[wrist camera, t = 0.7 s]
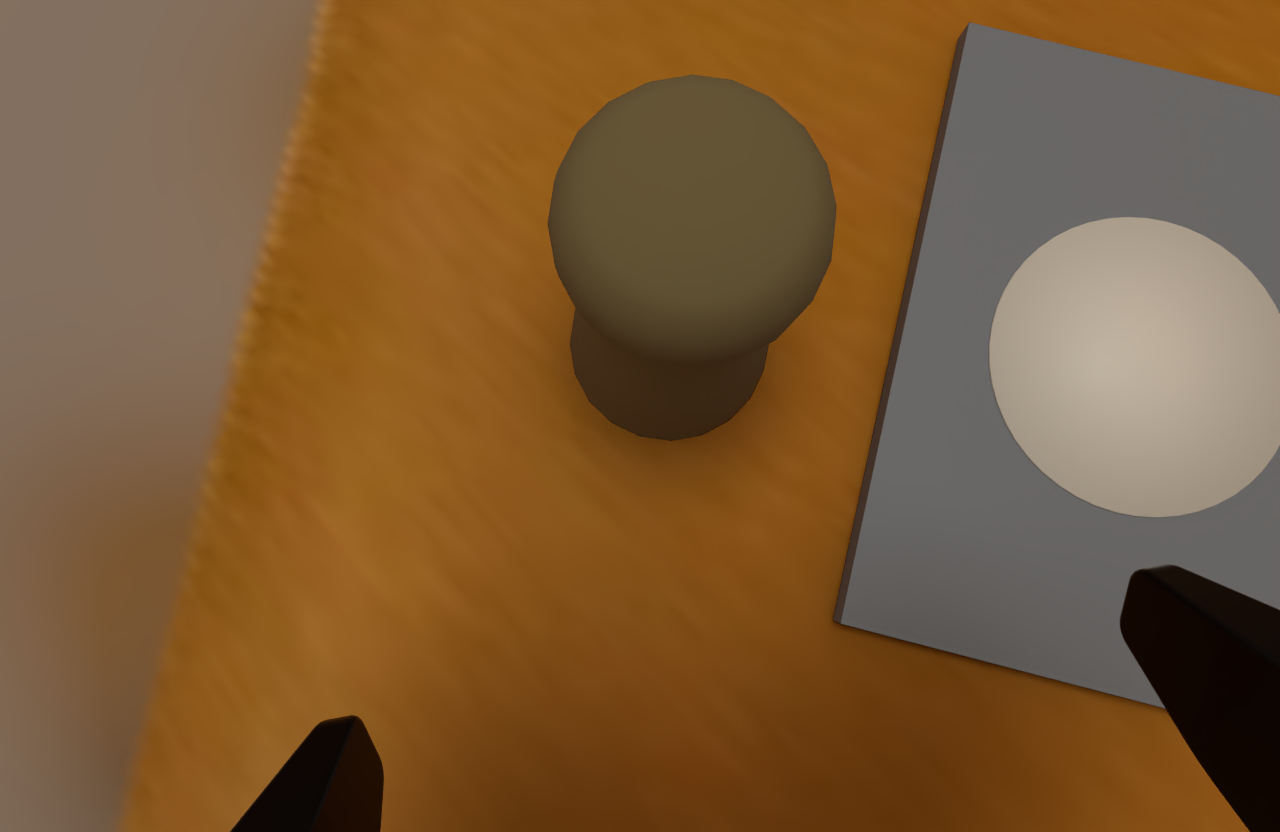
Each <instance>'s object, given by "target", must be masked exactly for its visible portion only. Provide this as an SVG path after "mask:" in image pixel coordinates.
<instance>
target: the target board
mask: <svg viewBox="0 0 1280 832" xmlns="http://www.w3.org/2000/svg"><path fill="white" fill-rule="evenodd" d="M1164 564H1172V565H1176V566H1179V567H1182V568H1184V569H1186V570H1189V571H1191V572H1193V573H1196V574H1198V575H1200V576H1203V577H1205V578H1207V579H1210V580H1212V581H1214V582H1217V583H1219V584H1221V585H1224V586H1226V587H1228V588H1230V589H1233V590H1235V591H1237V592H1240V593H1242V594H1244V595H1247V596H1249V597H1251V598H1254V599H1256V600H1258V601H1261V602H1263V603H1265V604H1268V605H1270V606H1272V607H1274V608H1277V609H1279V610H1280V96H1277V95H1273V94H1268V93H1264V92H1260V91H1256V90H1252V89H1247V88H1243V87H1239V86H1235V85H1230V84H1226V83H1222V82H1218V81H1214V80H1209V79H1205V78H1201V77H1197V76H1193V75H1188V74H1184V73H1180V72H1176V71H1172V70H1167V69H1163V68H1159V67H1155V66H1151V65H1146V64H1142V63H1138V62H1134V61H1130V60H1125V59H1121V58H1117V57H1113V56H1109V55H1104V54H1100V53H1096V52H1092V51H1087V50H1083V49H1079V48H1075V47H1071V46H1066V45H1062V44H1058V43H1054V42H1050V41H1045V40H1041V39H1037V38H1033V37H1029V36H1024V35H1020V34H1016V33H1012V32H1008V31H1003V30H999V29H995V28H991V27H987V26H982V25H978V24H974V23H970V22H969V24H968V25H967V27H966V28H965V29H964V31H963V32H962V34H961V35H960V37H959V38H958V43H957V47H956V52H955V57H954V61H953V66H952V70H951V75H950V80H949V84H948V89H947V94H946V98H945V103H944V108H943V112H942V117H941V122H940V126H939V131H938V135H937V140H936V145H935V149H934V154H933V159H932V163H931V168H930V173H929V177H928V182H927V186H926V191H925V196H924V200H923V205H922V210H921V214H920V219H919V224H918V228H917V233H916V238H915V242H914V247H913V251H912V256H911V261H910V265H909V270H908V275H907V279H906V284H905V289H904V293H903V298H902V302H901V307H900V312H899V316H898V321H897V326H896V330H895V335H894V340H893V344H892V349H891V354H890V358H889V363H888V367H887V372H886V377H885V381H884V386H883V391H882V395H881V400H880V405H879V409H878V414H877V418H876V423H875V428H874V432H873V437H872V442H871V446H870V451H869V456H868V460H867V465H866V470H865V474H864V479H863V483H862V488H861V493H860V497H859V502H858V507H857V511H856V516H855V521H854V525H853V530H852V534H851V539H850V544H849V548H848V553H847V558H846V562H845V567H844V572H843V576H842V581H841V586H840V590H839V595H838V599H837V604H836V609H835V613H834V618H833V620H835V621H837V622H838V623H840V624H844V625H848V626H852V627H856V628H859V629H863V630H867V631H871V632H875V633H878V634H882V635H886V636H890V637H894V638H898V639H901V640H905V641H909V642H913V643H917V644H921V645H924V646H928V647H932V648H936V649H940V650H944V651H947V652H951V653H955V654H959V655H963V656H967V657H970V658H974V659H978V660H982V661H986V662H990V663H993V664H997V665H1001V666H1005V667H1009V668H1013V669H1016V670H1020V671H1024V672H1028V673H1032V674H1036V675H1039V676H1043V677H1047V678H1051V679H1055V680H1059V681H1062V682H1066V683H1070V684H1074V685H1078V686H1082V687H1085V688H1089V689H1093V690H1097V691H1101V692H1105V693H1108V694H1112V695H1116V696H1120V697H1124V698H1128V699H1131V700H1135V701H1139V702H1143V703H1147V704H1151V705H1154V706H1158V707H1162V708H1165V707H1164V705H1163V704H1162V702H1161V700H1160V699H1159V697H1158V695H1157V694H1156V692H1155V690H1154V689H1153V687H1152V686H1151V684H1150V682H1149V681H1148V679H1147V677H1146V676H1145V674H1144V672H1143V671H1142V669H1141V667H1140V666H1139V664H1138V663H1137V661H1136V659H1135V658H1134V656H1133V654H1132V653H1131V651H1130V649H1129V648H1128V646H1127V645H1126V643H1125V641H1124V639H1123V636H1122V634H1121V630H1120V615H1121V611H1122V607H1123V603H1124V599H1125V595H1126V591H1127V587H1128V583H1129V579H1130V577H1131V575H1132V574H1133V573H1134V572H1135V571H1136V570H1138V569H1142V568H1147V567H1152V566H1158V565H1164Z"/></svg>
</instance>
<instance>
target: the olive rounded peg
mask: <svg viewBox="0 0 1280 832" xmlns="http://www.w3.org/2000/svg"><path fill="white" fill-rule="evenodd" d="M835 219H836V202H835V197H834V193H833V189H832V184H831V180H830V175H829V171H828V166H827V163H826V162H825V160H824V158H823V157H822V155H821V153H820V152H819V150H818V148H817V147H816V145H815V143H814V142H813V140H812V138H811V137H810V135H809V134H808V132H807V130H806V129H805V127H804V126H803V125H801V124H800V123H799V122H798V121H797V120H796V119H795V118H793V117H792V116H791V115H790V114H789V113H788V112H787V111H785V110H784V109H783V108H782V107H781V106H780V105H779V104H777V103H776V102H775V101H774V100H773V99H772V98H770V97H769V96H767V95H764V94H762V93H760V92H758V91H755V90H753V89H751V88H749V87H747V86H744V85H742V84H740V83H738V82H735V81H733V80H728V79H720V78H713V77H705V76H697V75H688V76H682V77H676V78H670V79H664V80H658V81H652V82H648V83H646V84H644V85H642V86H640V87H638V88H636V89H634V90H632V91H630V92H628V93H626V94H624V95H622V96H620V97H618V98H616V99H614V100H612V101H610V102H608V103H607V104H606V105H605V106H604V107H603V108H602V109H601V110H600V111H599V112H598V113H597V114H596V115H595V116H594V117H593V118H592V119H590V120H589V121H588V122H587V123H586V124H585V125H584V126H583V127H582V128H581V129H580V130H579V131H578V133H577V134H576V136H575V138H574V140H573V142H572V144H571V146H570V148H569V150H568V152H567V153H566V155H565V157H564V159H563V161H562V163H561V165H560V167H559V169H558V172H557V175H556V178H555V181H554V187H553V193H552V199H551V206H550V212H549V218H548V228H549V234H550V240H551V246H552V251H553V257H554V263H555V267H556V270H557V273H558V275H559V278H560V280H561V281H562V283H563V285H564V287H565V289H566V291H567V292H568V294H569V296H570V298H571V300H572V302H573V304H574V305H575V307H576V309H575V315H574V321H573V328H572V334H571V341H570V348H571V353H572V359H573V365H574V371H575V375H576V377H577V379H578V381H579V383H580V384H581V386H582V388H583V390H584V392H585V394H586V396H587V398H588V399H589V401H590V402H591V403H592V404H593V405H594V406H595V407H596V408H597V409H598V410H599V411H600V412H601V413H602V414H603V415H604V416H605V417H606V418H607V419H609V420H610V421H611V422H612V423H613V424H616V425H618V426H620V427H622V428H624V429H626V430H628V431H630V432H632V433H634V434H636V435H638V436H641V437H649V438H656V439H664V440H671V441H672V440H677V439H683V438H688V437H694V436H699V435H703V434H705V433H707V432H709V431H710V430H712V429H714V428H716V427H718V426H720V425H722V424H724V423H725V422H727V421H729V420H730V419H731V418H732V417H733V416H734V415H735V414H736V413H737V412H738V411H739V410H740V409H741V408H742V407H743V405H744V404H745V403H746V402H747V401H748V400H749V399H750V398H751V396H752V394H753V392H754V390H755V387H756V385H757V383H758V381H759V379H760V377H761V375H762V373H763V370H764V365H765V360H766V355H767V350H768V345H769V343H771V342H773V341H775V340H776V339H777V338H778V337H779V336H780V335H781V334H782V333H783V332H784V331H785V330H786V329H787V327H788V326H789V325H790V324H791V323H792V322H793V321H794V320H795V319H796V318H797V317H798V316H799V315H800V314H801V313H802V312H803V311H804V310H805V309H806V307H807V306H808V305H809V304H810V303H811V302H812V301H813V299H814V297H815V294H816V292H817V290H818V288H819V286H820V284H821V282H822V279H823V277H824V275H825V273H826V271H827V269H828V266H829V264H830V262H831V257H832V247H833V238H834V228H835Z"/></svg>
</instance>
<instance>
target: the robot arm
mask: <svg viewBox="0 0 1280 832" xmlns="http://www.w3.org/2000/svg"><path fill="white" fill-rule="evenodd" d="M1120 630H1121V634H1122V636H1123V639H1124V641H1125V643H1126V645H1127V646H1128V648H1129V649H1130V651H1131V653H1132V654H1133V656H1134V658H1135V659H1136V661H1137V663H1138V664H1139V666H1140V667H1141V669H1142V671H1143V672H1144V674H1145V676H1146V677H1147V679H1148V681H1149V682H1150V684H1151V686H1152V687H1153V689H1154V690H1155V692H1156V694H1157V695H1158V697H1159V699H1160V700H1161V702H1162V704H1163V705H1164V707H1165V708H1166V710H1167V712H1168V713H1169V715H1170V717H1171V718H1172V720H1173V722H1174V723H1175V725H1176V727H1177V728H1178V730H1179V731H1180V733H1181V735H1182V736H1183V738H1184V740H1185V741H1186V743H1187V744H1188V746H1189V748H1190V749H1191V751H1192V752H1193V754H1194V755H1195V757H1196V758H1197V760H1198V761H1199V763H1200V764H1201V766H1202V767H1203V769H1204V770H1205V771H1206V773H1207V774H1208V776H1209V777H1210V778H1211V780H1212V781H1213V783H1214V784H1215V785H1216V787H1217V788H1218V789H1219V791H1220V792H1221V793H1222V795H1223V796H1224V797H1225V799H1226V800H1227V802H1228V803H1229V804H1230V806H1231V807H1232V808H1233V810H1234V811H1235V812H1236V814H1237V815H1238V816H1239V818H1240V819H1241V820H1242V822H1243V823H1244V824H1245V826H1246V827H1247V828H1248V830H1249V831H1250V832H1280V610H1279V609H1277V608H1274V607H1272V606H1270V605H1268V604H1265V603H1263V602H1261V601H1258V600H1256V599H1254V598H1251V597H1249V596H1247V595H1244V594H1242V593H1240V592H1237V591H1235V590H1233V589H1230V588H1228V587H1226V586H1224V585H1221V584H1219V583H1217V582H1214V581H1212V580H1210V579H1207V578H1205V577H1203V576H1200V575H1198V574H1196V573H1193V572H1191V571H1189V570H1186V569H1184V568H1182V567H1179V566H1176V565H1172V564H1164V565H1158V566H1152V567H1147V568H1142V569H1138V570H1136V571H1135V572H1134V573H1133V574H1132V575H1131V577H1130V579H1129V583H1128V587H1127V591H1126V595H1125V599H1124V603H1123V607H1122V611H1121V615H1120ZM383 785H384V773H383V766H382V762H381V759H380V757H379V754H378V752H377V750H376V748H375V746H374V744H373V742H372V740H371V738H370V736H369V734H368V732H367V730H366V727H365V725H364V723H363V722H362V720H361V719H360V718H359V717H357V716H353V715H350V716H345V717H340V718H334V719H329V720H325V721H322V722H320V723H319V724H318V725H317V726H316V727H315V728H314V729H313V730H312V731H311V732H310V734H309V735H308V736H307V737H306V739H305V740H304V741H303V742H302V743H301V745H300V746H299V747H298V748H297V750H296V751H295V752H294V753H293V755H292V756H291V757H290V758H289V760H288V761H287V762H286V763H285V764H284V766H283V767H282V768H281V769H280V771H279V772H278V773H277V774H276V776H275V777H274V778H273V779H272V781H271V782H270V783H269V784H268V785H267V787H266V788H265V789H264V790H263V792H262V793H261V794H260V795H259V797H258V798H257V799H256V800H255V802H254V803H253V804H252V805H251V806H250V808H249V809H248V810H247V811H246V813H245V814H244V815H243V816H242V818H241V819H240V820H239V821H238V823H237V824H236V825H235V826H234V827H233V829H232V830H231V831H230V832H380V829H381V814H382V800H383Z"/></svg>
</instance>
